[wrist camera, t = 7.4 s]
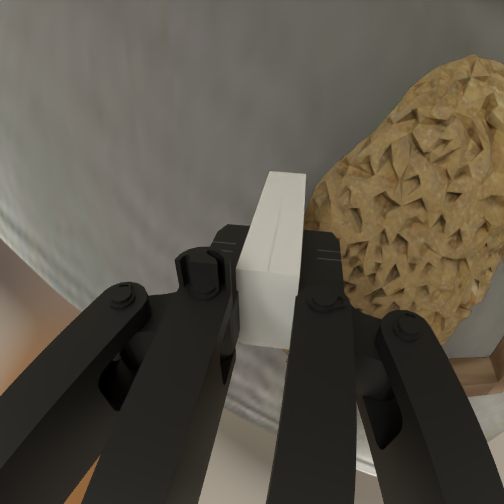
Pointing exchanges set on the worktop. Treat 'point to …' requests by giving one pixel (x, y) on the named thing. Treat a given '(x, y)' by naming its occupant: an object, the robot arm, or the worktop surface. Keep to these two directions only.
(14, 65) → the worktop surface
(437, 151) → the sponge
